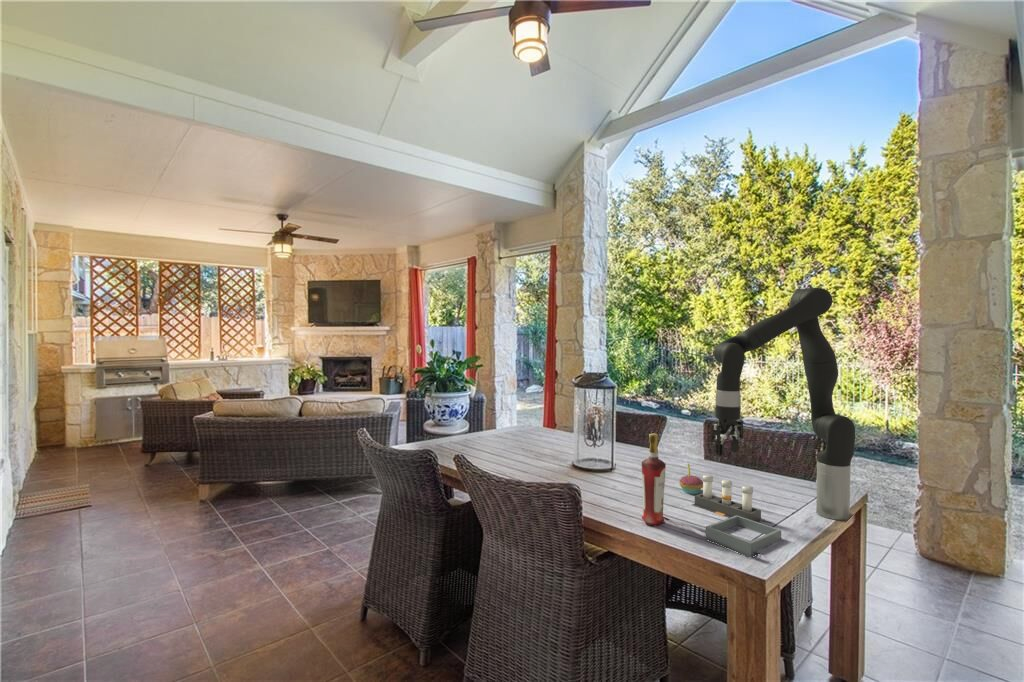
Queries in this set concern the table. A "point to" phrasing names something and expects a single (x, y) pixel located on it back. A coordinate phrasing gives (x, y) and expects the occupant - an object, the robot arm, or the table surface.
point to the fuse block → (726, 508)
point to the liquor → (653, 484)
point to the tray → (739, 544)
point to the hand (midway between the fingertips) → (727, 453)
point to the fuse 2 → (747, 498)
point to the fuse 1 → (707, 486)
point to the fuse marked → (726, 492)
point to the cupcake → (691, 483)
